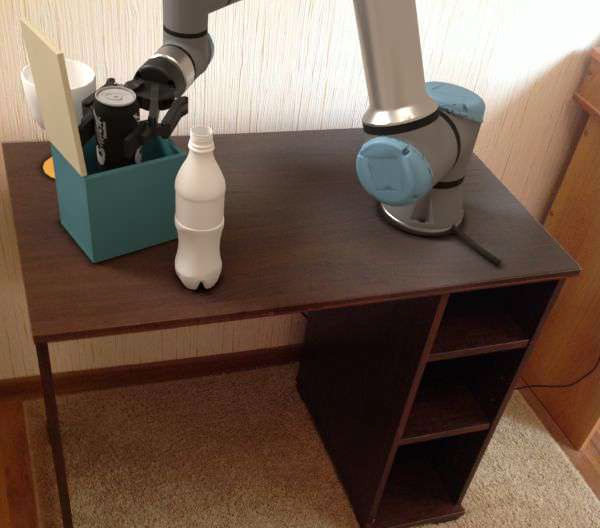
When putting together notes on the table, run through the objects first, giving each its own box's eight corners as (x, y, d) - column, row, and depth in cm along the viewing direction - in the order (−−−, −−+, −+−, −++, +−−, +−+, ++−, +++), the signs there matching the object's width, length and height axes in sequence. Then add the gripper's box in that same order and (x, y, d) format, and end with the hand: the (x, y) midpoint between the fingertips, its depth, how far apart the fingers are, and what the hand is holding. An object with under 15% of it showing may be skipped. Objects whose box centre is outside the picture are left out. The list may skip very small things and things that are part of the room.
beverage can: (133, 185, 114) (129, 110, 105) (91, 176, 114) (84, 100, 106) (147, 164, 119) (145, 90, 110) (108, 155, 119) (102, 80, 110)
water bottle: (198, 260, 121) (201, 112, 103) (230, 281, 119) (240, 133, 100) (165, 278, 117) (162, 127, 99) (198, 300, 114) (201, 150, 96)
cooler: (151, 199, 131) (149, 118, 121) (186, 235, 125) (187, 154, 115) (61, 223, 124) (49, 139, 113) (93, 263, 118) (85, 179, 107)
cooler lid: (24, 15, 99) (18, 16, 99) (63, 52, 93) (57, 54, 93) (52, 136, 113) (46, 137, 112) (87, 175, 107) (81, 177, 106)
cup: (89, 191, 131) (80, 96, 118) (24, 178, 131) (8, 81, 119) (112, 158, 139) (105, 65, 126) (50, 145, 139) (38, 52, 127)
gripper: (219, 115, 125) (167, 183, 110) (109, 87, 127) (43, 151, 112) (221, 70, 120) (166, 135, 104) (106, 42, 122) (36, 102, 106)
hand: (102, 143), depth 108 cm, fingers closed on beverage can, 6 cm apart
